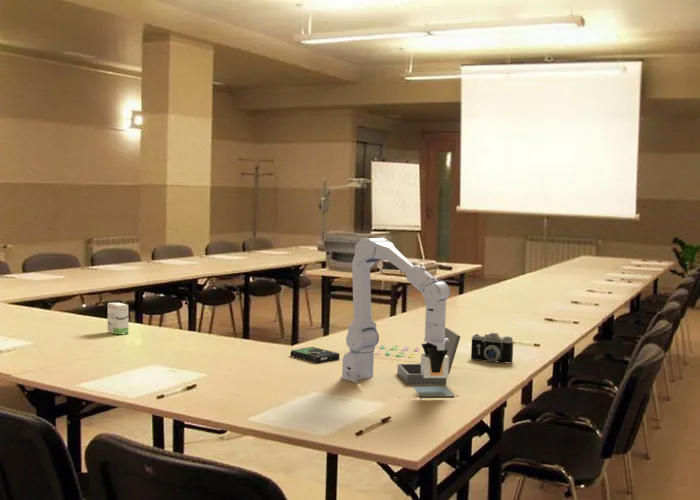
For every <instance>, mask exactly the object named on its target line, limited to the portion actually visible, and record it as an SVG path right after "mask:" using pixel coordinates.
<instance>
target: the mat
mask: <svg viewBox="0 0 700 500" xmlns="http://www.w3.org/2000/svg"><path fill="white" fill-rule="evenodd" d="M412 388H413V389H414V390H415V391H416V392H417V393H418V394H419V395H418V396H417V397H418V398H419V399H455V394H454V392H452V391H451V390H450V389H449V388H448V387H447V385H412Z"/></svg>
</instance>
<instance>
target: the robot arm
mask: <svg viewBox="0 0 700 500" xmlns="http://www.w3.org/2000/svg"><path fill="white" fill-rule="evenodd" d="M354 246H355V247H354V249H355V250H354V251H355V253H354V256H353V258H352V263H351V267H352V274H351V275H352V276H351V277H352V303H353V304H352V307H353V319H352V321H351V323H349V325H348V327H347V328H348V329H347V335H346V337H345V343H346V346H347V347H348V348H349V352H345V354H344V355H343V357H342V368H341V369H342V371H341V372H342V373H341V374H342V375H341V376H340V377H339V378H340V379H342V380H345V381H349V382H353V383H355V384H360V381H359V380H363V379H371V378H373V377H374V363H375V362H374V359H375V350H376V346H378V344H379V341H380V335H379V332H378V329H377V323H375V321H374V320H373V318H372V292H371V291H372V290H371V289H372V288H371V287H372V285H371V268H372V267H373V266H374V265H375V264H376V263H377V262H378V261H380V260H386V261H388V262H389V263H391V264H392V265H393V266H395V267H396V268H397V269H398V270H400V271H401V272H403V273H404V274H405V275H406V280H407V282H409V284H411V285H412V286H413V287H415V288H416V289H417V290H418V292H420V293H421V295H422V298H423V300H424V302H425V319H424V320H425V321H424V322H425V325H424V338H423V341H424V342H425V343H421V346H422V350H423V351H424V354H429V355H430V359H431V368H432V372H433V373H440V370H441V367H442V363H443V360H444V357H445V355H446V354H447V352H448V349H445V342H449V339H448V338H445V328H446V319H447V317H446V315H447V313H446V312H447V300H448V299H449V297H450V295H451V289H450V286H449V284H447V283H446V281H444V280H439V279H438V278H437V277H436V276H433V275H432V274H431V273H429V271H428V270H427V268H426V266H424V265H420V264H416V265H414V264H413V263H412V262H410V260H409V259H408V258H407V257H406V256H405V255H403V253H401V252H400V251H399V250H398V249H397V248H396V247H395V244H394V243H393V242H391V241H389V239H387V238H386V237H372V238H371V237H370V238H368V237H364V238H362V239H360V240H359V241H358V242H357V243H356V244H355V245H354Z"/></svg>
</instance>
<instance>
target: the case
mask: <svg viewBox="0 0 700 500" xmlns="http://www.w3.org/2000/svg"><path fill="white" fill-rule="evenodd" d="M445 338H448V339H449V342H445V349H448V352H447V354H446V355H447V356H448V357H449V367H448V375H450V373H451V369H452V366H453V363H454V359H455V355H456V353H457V349H458V346H459V343H460V340H461V335H459V334H458V333H456V332H455V331H453V330H452V329H450V328H448V327H445ZM397 375H398V376H399V377H400V378H401V379H402V380H403V382H404V383H405V384H406V385H408V386H409V385H412V386H417V385H447V379H448V378H424V377H423V376H422V375H421V362H420V363H398V364H397Z"/></svg>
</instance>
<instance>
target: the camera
mask: <svg viewBox="0 0 700 500" xmlns="http://www.w3.org/2000/svg"><path fill="white" fill-rule="evenodd" d="M513 358H514V341H513V338H512V337H511V336H507V335H505V336H503V337H501V336H500V335H499V333H498V332H497V333H496V332H490V333H487V334H484V335H480V334H478V333H476V334H474V335H472V337H471V352H470V359H471V360H474V361H475V360H476V361H482V360H486V361H485V362H491V361H498V362H497V363H500V362H508V363H507V364H510V363H509V362H512V363H513V361H514V359H513Z"/></svg>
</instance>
